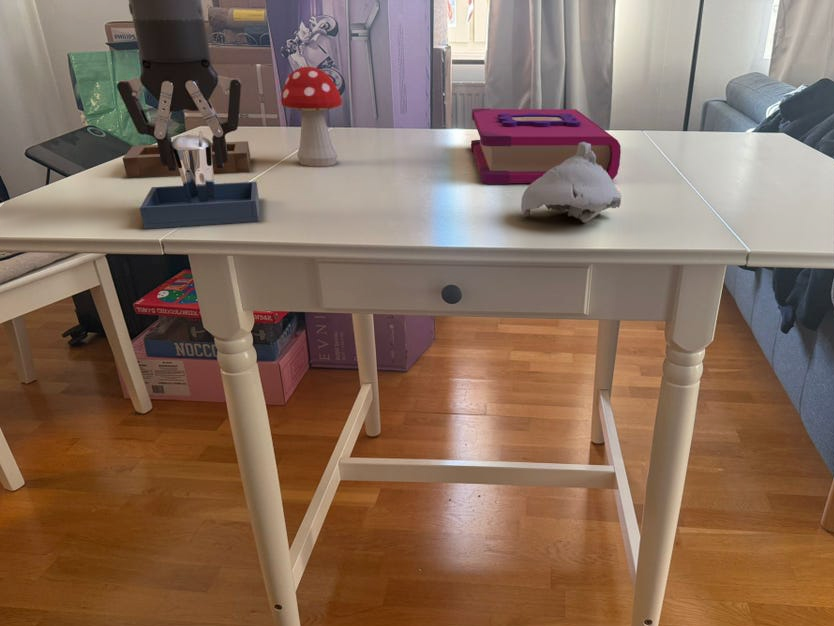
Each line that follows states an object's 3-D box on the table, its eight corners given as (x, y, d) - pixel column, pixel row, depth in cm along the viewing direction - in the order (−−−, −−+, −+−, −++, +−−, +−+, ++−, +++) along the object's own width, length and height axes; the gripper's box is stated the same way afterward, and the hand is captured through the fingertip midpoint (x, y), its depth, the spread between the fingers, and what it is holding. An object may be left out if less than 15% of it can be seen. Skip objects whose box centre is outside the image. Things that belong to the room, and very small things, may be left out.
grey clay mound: (563, 222, 94) (584, 144, 91) (629, 243, 86) (655, 159, 83) (501, 211, 86) (522, 126, 83) (568, 234, 78) (594, 141, 75)
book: (581, 147, 128) (584, 105, 124) (617, 183, 103) (623, 131, 99) (470, 148, 126) (470, 105, 123) (481, 184, 102) (481, 132, 98)
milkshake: (198, 216, 83) (182, 133, 79) (178, 208, 87) (161, 127, 82) (232, 209, 86) (218, 128, 82) (211, 201, 90) (197, 123, 85)
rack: (126, 178, 103) (122, 158, 102) (137, 164, 112) (133, 145, 110) (249, 172, 107) (246, 152, 106) (250, 159, 116) (247, 141, 114)
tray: (144, 229, 81) (139, 207, 80) (156, 206, 90) (151, 187, 88) (258, 221, 84) (255, 200, 83) (259, 200, 93) (256, 181, 91)
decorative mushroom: (356, 160, 116) (348, 65, 109) (333, 170, 109) (323, 70, 102) (304, 156, 118) (293, 63, 111) (278, 166, 111) (265, 68, 104)
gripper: (236, 15, 81) (256, 159, 89) (105, 14, 77) (139, 164, 85) (233, 16, 75) (256, 171, 83) (91, 16, 71) (129, 178, 79)
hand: (196, 167), depth 84 cm, fingers open, 5 cm apart
